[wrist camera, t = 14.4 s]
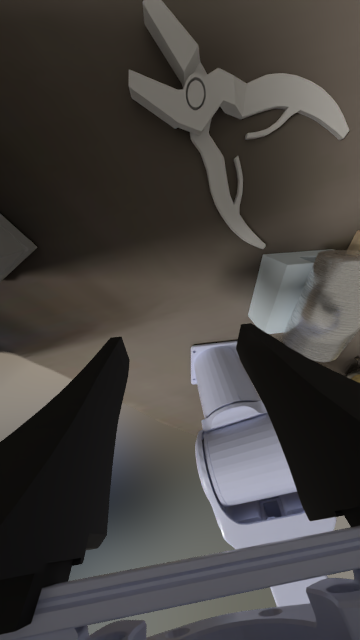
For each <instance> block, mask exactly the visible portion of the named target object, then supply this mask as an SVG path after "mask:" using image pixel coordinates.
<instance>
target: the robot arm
mask: <svg viewBox="0 0 360 640" xmlns="http://www.w3.org/2000/svg"><path fill="white" fill-rule="evenodd" d="M239 358H240V359H239ZM128 371H129V357H128V355H127V352H126V349H125V346H124V343H123V340H122V337H114V338H110V339H109V340H108V341H107V343H106V344H105V345H104V346H103V347H102V348H101V350H100V351H99V352H98V353H97V354H96V355H95V356H94V358H93V359H92V360H91V361H90V362H89V363H88V364H87V365H86V367H85V368H84V369H83V370H82V371H81V372H80V373H79V374H78V375H77V376H76V377H75V378H74V379H73V380H72V381H71V382H70V383H69V384H68V385H67V386H66V387H65V388H64V389H63V390H62V391H61V392H60V393H59V394H58V395H57V396H55V397H54V398H53V399H52V400H51V401H50V402H49V403H48V404H47V405H46V406H44V407H43V408H42V409H41V410H40V411H38V412H37V413H36V414H35V415H34V416H32V417H31V418H30V419H29V420H27V421H26V422H25V423H24V424H23V425H21V426H20V427H19V428H18V429H17V430H15V431H14V432H13V433H12V434H10V435H9V436H8V437H6V438H5V439H4V440H2V441H1V442H0V640H360V383H359V382H357V381H354V380H352V379H350V378H347V377H345V376H343V375H341V374H339V373H337V372H334V371H332V370H330V369H328V368H326V367H324V366H322V365H320V364H318V363H316V362H314V361H313V360H311V359H309V358H307V357H305V356H303V355H302V354H300V353H298V352H296V351H295V350H293V349H291V348H290V347H288V346H286V345H285V344H283V343H281V342H280V341H278V340H277V339H275V338H274V337H272V336H270V335H269V334H267V333H266V332H264V331H263V330H261V329H259V328H258V327H256V326H255V325H253V324H251V323H250V324H241V328H240V332H239V337H238V341H230V342H221V343H212V344H203V345H194V346H192V347H191V383H192V384H197V385H198V390H199V395H200V399H201V404H202V409H203V413H204V417H205V419H204V420H202V426H203V430H200V431H199V433H198V436H197V439H196V445H195V450H196V451H195V452H196V461H197V467H198V472H199V477H200V480H201V484H202V487H203V489H204V492H205V494H206V496H207V498H208V500H209V501H210V503H211V505H212V508H213V511H214V514H215V516H216V519H217V523H218V526H219V527H220V529H221V531H222V535H223V538H224V539H225V540H226V542H228V543H229V544H230V545H231V546H232V547H234V548H235V550H230V551H225V552H219V553H214V554H209V555H204V556H199V557H194V558H188V559H183V560H178V561H173V562H167V563H162V564H157V565H151V566H146V567H141V568H136V569H130V570H125V571H120V572H115V573H109V574H104V575H99V576H94V577H88V578H83V579H78V580H73V581H68V579H69V575H70V571H71V567H72V566H74V565H79V564H82V563H83V560H84V556H85V551H86V550H91V549H96V548H98V547H99V546H100V545H101V543H102V542H103V540H104V539H105V537H106V535H107V523H108V510H109V495H110V485H111V475H112V465H113V456H114V447H115V439H116V431H117V424H118V419H119V414H120V409H121V405H122V401H123V396H124V392H125V388H126V383H127V378H128ZM246 372H247V373H246ZM247 374H248V375H247ZM252 383H253V384H252ZM253 385H254V386H253ZM254 387H255V388H254ZM255 389H256V390H255ZM257 392H258V393H257ZM258 394H259V395H258ZM259 396H260V397H259ZM260 398H261V399H260ZM261 400H262V401H261ZM343 515H344V516H345V518H346V519H347V521H348V523H349V524H350V526H351V527H350V528H345V529H340V530H335V531H334V528H335V524H336V517H338V516H343ZM350 570H353V573H354V580H351V579H343V578H328V577H327V575H330V574H336V573H340V572H345V571H350ZM268 587H270V588H271V591H272V594H273V596H274V599H275V602H276V605H277V607H273V608H265V609H255V610H248V611H241V612H235V613H230V614H225V615H220V616H215V617H211V618H208V619H204V620H200V621H197V622H193V623H190V624H187V625H184V626H181V627H178V628H175V629H172V630H168V631H165V632H162V633H159V634H156V635H153V636H150V637H147V638H146V623H145V621H144V620H120V621H116V622H113V623H110V624H108V625H106V626H104V627H102V628H101V629H99V630H97V631H96V632H94V633H93V634H91V635H90V636H89V633H88V626H87V625H91V624H96V623H101V622H105V621H110V620H115V619H120V618H125V617H129V616H134V615H139V614H144V613H149V612H153V611H158V610H163V609H168V608H172V607H177V606H182V605H187V604H192V603H197V602H201V601H206V600H211V599H216V598H220V597H225V596H230V595H235V594H240V593H244V592H249V591H254V590H259V589H264V588H268Z"/></svg>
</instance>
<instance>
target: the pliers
mask: <svg viewBox="0 0 360 640" xmlns="http://www.w3.org/2000/svg"><path fill="white" fill-rule="evenodd" d="M143 14H144V24H145V26H146V28H147V29H148V31H149V32H150V34H151V36H152V37H153V39H154V40H155V42H156V44H157V45H158V47H159V48H160V50H161V52H162V53H163V55H164V56H165V58H166V60H167V61H168V63H169V64H170V66H171V68H172V69H173V71H174V72H175V74H176V76H177V77H178V79H179V80H180V82H181V84H182V86H183V89H181V90H177V89H175V88H172V87H170V86H168V85H165V84H163V83H160V82H158V81H156V80H153V79H151V78H149V77H146V76H144V75H141V74H139V73H137V72H134V71H132V70H130V69H129V90H130V94H131V98H132V99H133V100H135V101H136V102H138V103H139V104H140V105H142V106H143V107H145V108H146V109H147V110H149V111H150V112H152V113H153V114H155V115H156V116H157V117H159V118H160V119H162V120H163V121H164V122H166V123H167V124H169V125H170V126H172V127H173V128H174V129H175V128H181V129H183V130H186V131H189V132H190V138H191V141H192V143H193V144H194V145H195V147H196V148H197V149H198V151H199V152H200V154H201V157H202V160H203V162H204V165H205V168H206V171H207V176H208V182H209V188H210V193H211V195H212V198H213V201H214V204H215V206H216V208H217V210H218V211H219V213H220V215H221V217H222V218H223V220H224V221H225V222H226V224H227V225H228V226H229V228H230V229H231V230H232V231H233V232H234V233H235V234H236V235H237V236H238V237H240V238H241V239H242V240H244V241H245V242H247V243H249V244H251V245H253V246H255V247H258V248H261V249H264V248H265V246H266V244H265V243H264V242H262V241H261V240H260V239H259V238H258V237H257V236H256V235H255V234H254V233H253V232H252V231H251V229H250V228H249V227H248V226H247V224H246V223H245V222H244V220H243V219H242V217H241V216H240V214H239V210H240V202H241V198H242V192H243V176H242V169H241V165H240V161H239V157H238V156H237V157H235V158H234V159H233V160H234V164H235V167H236V172H237V179H238V185H237V195H236V197H235V200H234V203H233V201H232V198H231V196H230V192H229V187H228V181H227V175H226V168H225V161H224V157H223V155H222V154H221V152H220V150H219V149H218V147H217V146H216V144H215V143H214V141H213V139H212V138H211V136H210V135H209V129H210V123H211V118H212V117H213V115H214V114H215V113H216V111H217V110H218V108H219V107H221V108H222V110H223V111H224V113H226V114H228V115H231V116H233V117H236V118H238V119H240V120H241V119H244V118H247V117H249V116H252V115H255V114H258V113H260V112H264V111H267V110H271V109H286V110H285V111H284V113H283V114H282V115H281V116H280V118H279V119H278V120H277V122H276V123H275V124H273V125H272V126H271V127H269V128H268V129H265V130H262V131H258V132H251V133H247V134H246V135H245V140H247V139H256V138H260V137H264V136H266V135H268V134H269V133H271V132H273V131H274V130H276V129H277V128H279V127H280V126H281V125H282V124H283V123H284V122H285V121H286V120H287V119H288V118H289V117H290V116H292V115H293V114H295V113H299V114H302V115H304V116H307V117H309V118H311V119H313V120H315V121H316V122H318V123H319V124H320V125H322V126H323V127H324V128H326V129H327V130H328V131H330V132H331V133H332V134H333V135H334V136H335V137H336V138H337V139H338V140H341V139H344V137H345V136H346V134H347V133H348V132H349V128H348V126H347V123H346V121H345V118H344V116H343V114H342V112H341V110H340V108H339V106H338V105H337V104H336V102H335V101H334V100H333V99H332V97H331V96H330V95H329V94H328V93H327V92H326V91H325V90H324V89H322V88H321V87H320V86H318V85H317V84H315V83H313V82H311V81H310V80H307V79H305V78H302V77H299V76H297V75H291V74H285V73H277V74H267V75H265V76H262V77H260V78H258V79H256V80H253V81H251V82H249V83H245V82H243V81H242V80H240V79H238V78H237V77H235V76H234V75H232V74H230V73H228V72H226V71H224V70H222V69H220V68H217V69H216V70H214V71H212V72H211V73H209V74H208V75H207V73H206V71H205V69H204V67H203V66H202V64H201V62H200V55H199V46H198V44H197V43H196V42H195V40H194V39H193V38H192V37H191V35H190V34H189V33H188V32H187V31H186V29H185V28H184V27H183V26H182V24H181V23H180V22H179V21H178V20H177V18H176V17H175V16H174V15H173V14H172V12H171V11H170V10H169V9H168V7H167V6H166V5H165V4H164V3H163V1H162V0H143Z"/></svg>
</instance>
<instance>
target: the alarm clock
mask: <svg viewBox="0 0 360 640" xmlns="http://www.w3.org/2000/svg"><path fill="white" fill-rule="evenodd" d="M355 360H357V363H358V365H359V366H360V360H359V358H358V357H355ZM346 377H347V378H350V379H352V380H354V381H357V382H359V383H360V370H358V371H354V372H351V373H349V374H348V375H347V376H346Z"/></svg>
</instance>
